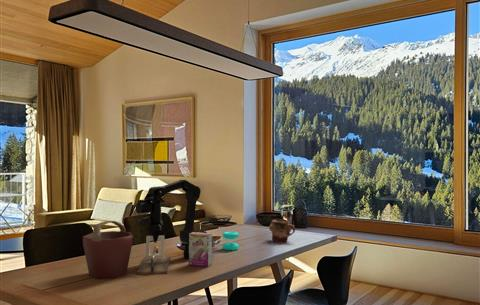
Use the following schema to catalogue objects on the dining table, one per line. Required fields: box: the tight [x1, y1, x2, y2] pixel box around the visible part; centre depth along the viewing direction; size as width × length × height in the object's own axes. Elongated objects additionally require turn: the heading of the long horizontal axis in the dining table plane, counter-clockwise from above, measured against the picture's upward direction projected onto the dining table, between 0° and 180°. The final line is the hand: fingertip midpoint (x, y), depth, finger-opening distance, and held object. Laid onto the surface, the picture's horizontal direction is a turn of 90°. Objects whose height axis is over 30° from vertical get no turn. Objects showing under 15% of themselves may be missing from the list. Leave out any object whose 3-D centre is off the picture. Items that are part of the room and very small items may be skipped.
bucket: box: [82, 220, 134, 280], centre depth 208 cm, size 24×22×25 cm
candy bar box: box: [188, 231, 213, 268], centre depth 226 cm, size 11×5×16 cm, turn 71°
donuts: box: [221, 231, 240, 251], centre depth 265 cm, size 10×10×10 cm
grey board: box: [136, 255, 171, 275], centre depth 224 cm, size 14×31×1 cm, turn 6°
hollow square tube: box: [145, 235, 166, 259], centre depth 226 cm, size 9×5×11 cm, turn 96°
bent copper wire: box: [151, 245, 159, 271], centre depth 223 cm, size 1×29×9 cm, turn 6°
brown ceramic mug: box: [268, 219, 296, 243], centre depth 290 cm, size 20×12×14 cm, turn 56°
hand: (155, 242), depth 226 cm, fingers closed on hollow square tube, 3 cm apart
